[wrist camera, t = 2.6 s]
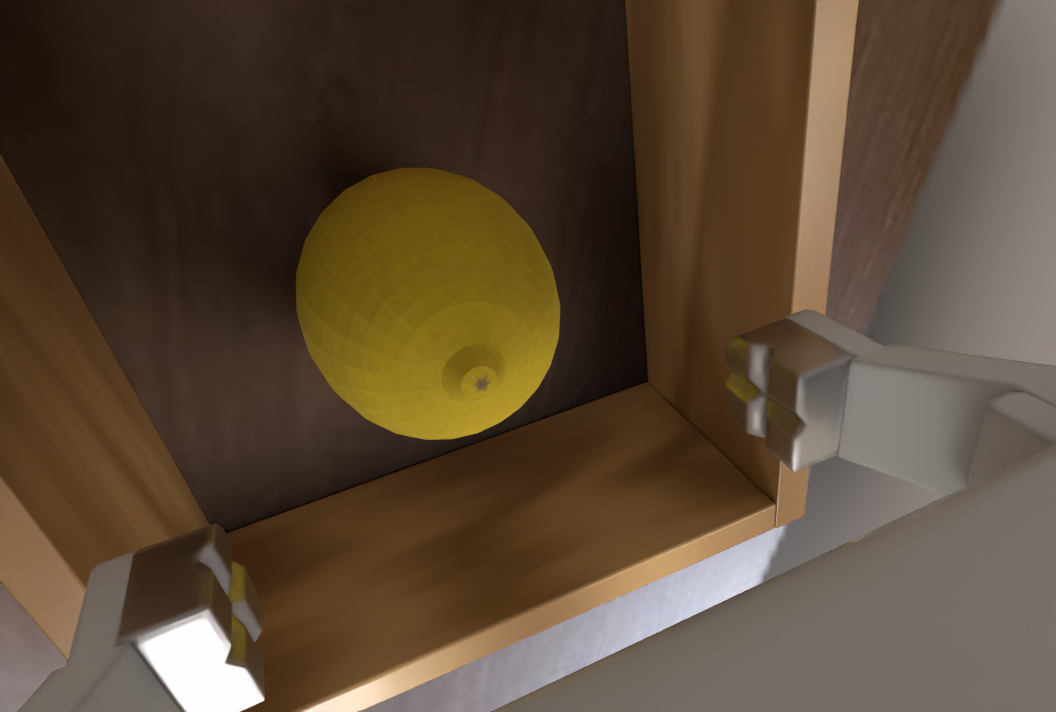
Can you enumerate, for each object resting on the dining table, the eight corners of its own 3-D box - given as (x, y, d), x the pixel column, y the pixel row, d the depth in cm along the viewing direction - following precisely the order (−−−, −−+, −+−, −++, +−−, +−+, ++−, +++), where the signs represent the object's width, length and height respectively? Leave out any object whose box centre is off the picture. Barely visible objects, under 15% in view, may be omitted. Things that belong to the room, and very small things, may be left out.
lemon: (444, 354, 20) (543, 527, 14) (256, 303, 17) (268, 489, 11) (519, 185, 19) (673, 289, 12) (326, 100, 16) (388, 175, 9)
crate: (650, -189, 16) (891, -294, 10) (672, 394, 24) (804, 516, 19) (-202, -80, 12) (-634, -149, 6) (196, 569, 20) (179, 793, 15)
